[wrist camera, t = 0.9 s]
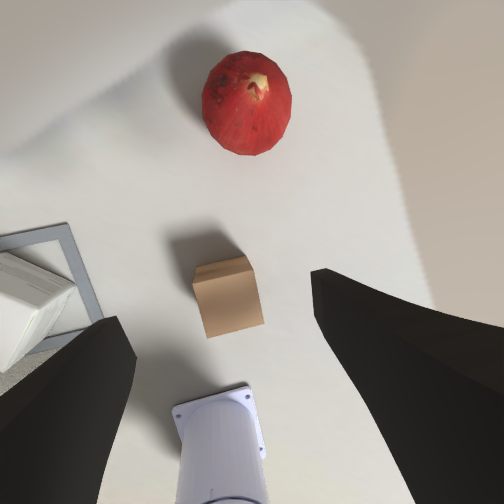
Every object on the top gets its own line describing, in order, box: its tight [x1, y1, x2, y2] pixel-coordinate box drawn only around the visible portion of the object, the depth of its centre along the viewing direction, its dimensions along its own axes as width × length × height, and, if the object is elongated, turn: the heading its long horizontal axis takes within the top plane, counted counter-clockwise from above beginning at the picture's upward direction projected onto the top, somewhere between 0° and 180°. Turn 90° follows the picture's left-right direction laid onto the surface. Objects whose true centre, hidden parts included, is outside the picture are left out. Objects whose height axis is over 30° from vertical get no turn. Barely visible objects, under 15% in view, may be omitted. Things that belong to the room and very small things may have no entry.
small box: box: [0, 252, 75, 373], centre depth 18 cm, size 6×6×5 cm
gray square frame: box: [0, 224, 104, 356], centre depth 21 cm, size 10×10×1 cm
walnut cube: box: [192, 255, 264, 338], centre depth 21 cm, size 4×4×4 cm
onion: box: [202, 51, 292, 156], centre depth 16 cm, size 6×6×8 cm
